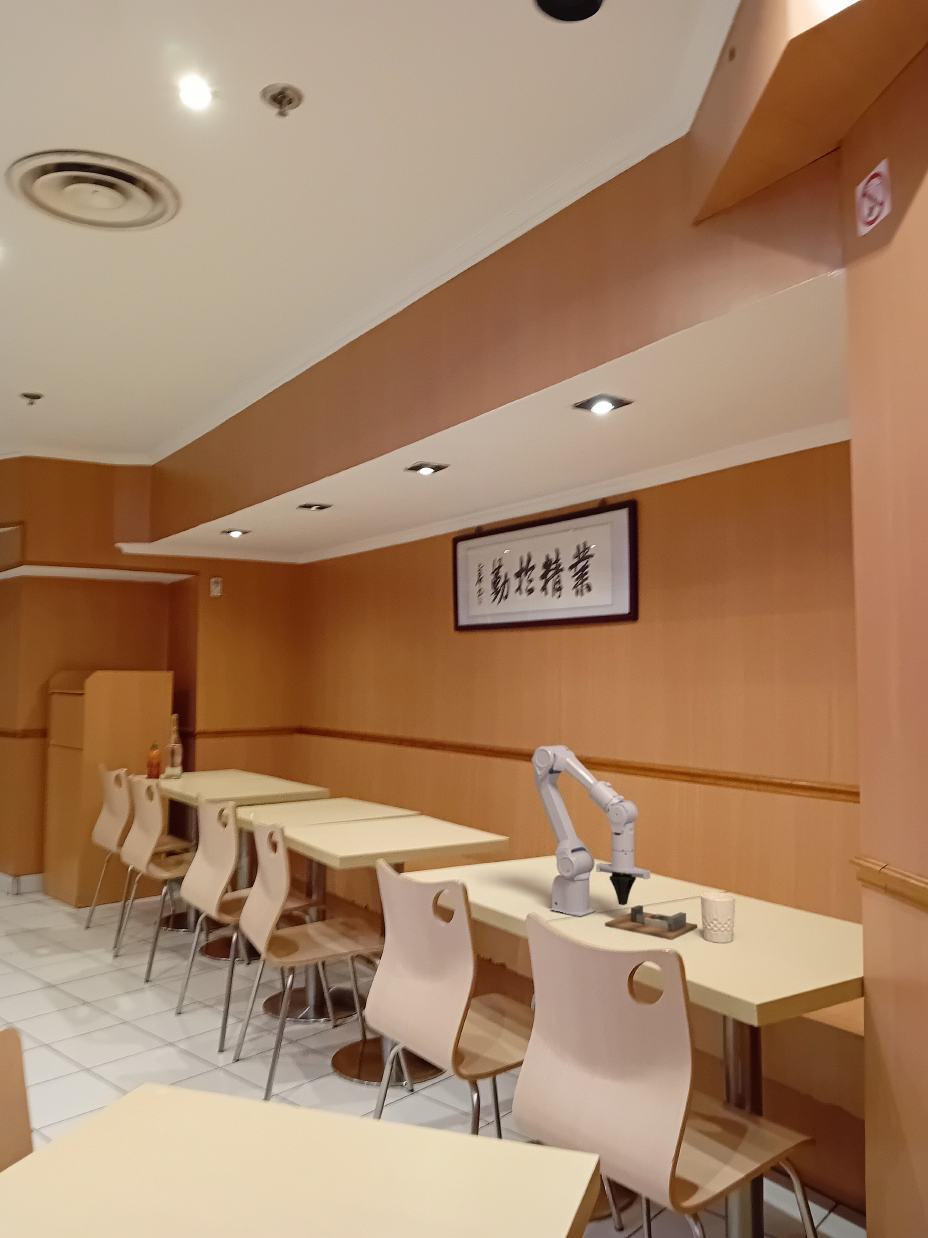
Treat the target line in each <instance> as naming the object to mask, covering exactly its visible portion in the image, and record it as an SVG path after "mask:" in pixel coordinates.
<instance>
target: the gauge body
mask: <svg viewBox="0 0 928 1238" xmlns="http://www.w3.org/2000/svg"><path fill="white" fill-rule="evenodd" d="M656 915H661V920H658V919H653V918H647V917H646V918H645V927H650V928H655V929H660V930H665V931H670V932H675V931H677V930H680V929H682V928H684V927H686V923H687V913H686V912H682V911H681V912H677V913H675V914H673V915H666V914H661V913H656Z"/></svg>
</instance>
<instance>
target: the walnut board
mask: <svg viewBox="0 0 928 1238" xmlns="http://www.w3.org/2000/svg"><path fill="white" fill-rule="evenodd" d="M604 926H605V927H609V928H613V929H618V930H623V931H629V932H632V933H637V934H642V935H647V936H651V937H655V938H656V937H657V938H662V939H666V940H671V941H673V940H675V939H677V938H679V937H680V936H683V935H686V934H687V933H690V932H692V931H693V930H696V929H697V928H698V924H696V923H690V922H686V927H684V928H682V929H680V930H677V931H675V932H670V931H665V930H660V929H655V928H650V927H645V924H644V923H639V922H633V921H631V912H630V913H629V912H628V914H625V915H621V916H619V917H616V918H614V919H611V920H608V921H606V922H605V923H604Z"/></svg>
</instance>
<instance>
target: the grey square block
mask: <svg viewBox="0 0 928 1238" xmlns="http://www.w3.org/2000/svg"><path fill="white" fill-rule="evenodd" d="M630 913H631V921H633V922H639V923H644V924H645V918H646V917H647V918H653V919H658V920H661V915H656V914H657V913H656V914H654V913H650V912H645V911H644V905H639V904H638V905H635V906H633V907H631V908H630Z"/></svg>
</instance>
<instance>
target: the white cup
mask: <svg viewBox="0 0 928 1238" xmlns="http://www.w3.org/2000/svg"><path fill="white" fill-rule="evenodd" d="M700 905H701V906H700V909H701V922H702V924H701V926H702V928H703V929H702V931H703V933H702V934H703V935H702V936H703V939H704V940H706V941H709V942H712V943H717V944H726V943H731V942H733V941H734V928H735V912H736V911H735V910H736V909H735V908H736V897H735V896H734V895H731V894H729V893H722V892H705V893H701V894H700Z"/></svg>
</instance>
